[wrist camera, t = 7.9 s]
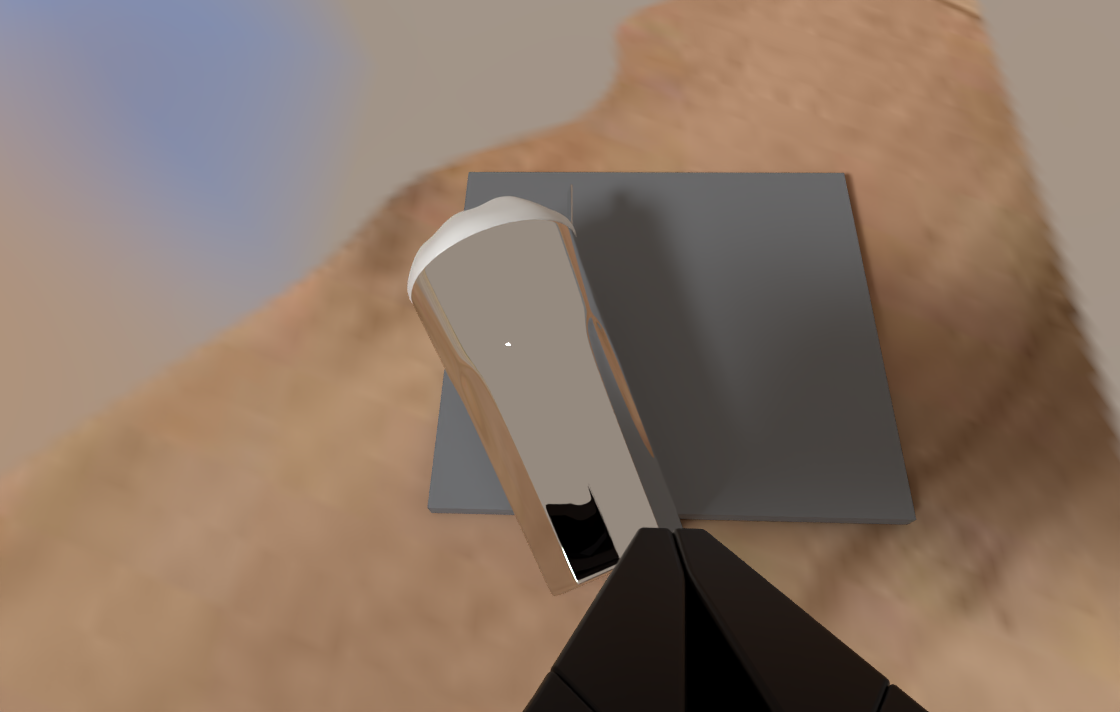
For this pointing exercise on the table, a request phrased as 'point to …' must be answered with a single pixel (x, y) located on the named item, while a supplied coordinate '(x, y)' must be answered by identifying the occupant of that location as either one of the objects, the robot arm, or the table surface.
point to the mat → (722, 345)
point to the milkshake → (541, 383)
